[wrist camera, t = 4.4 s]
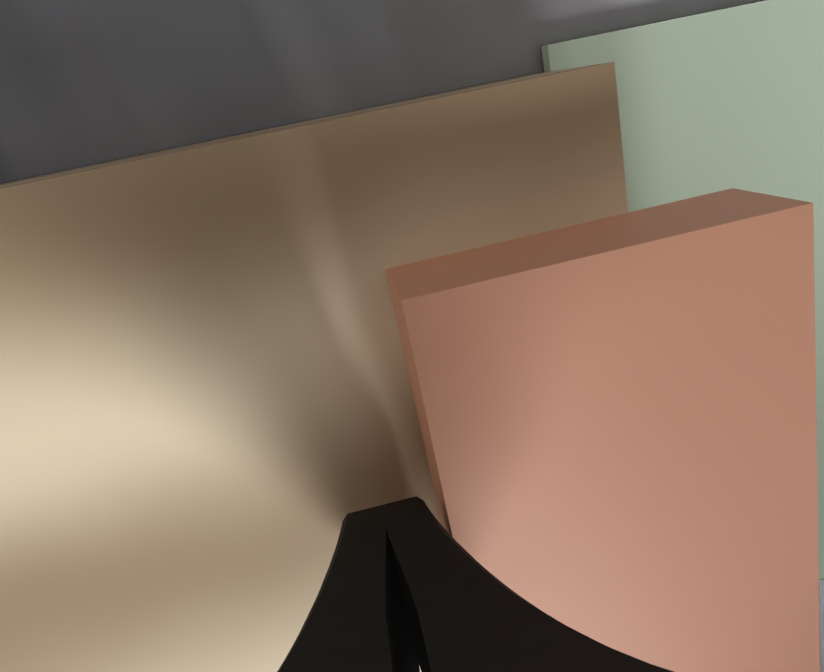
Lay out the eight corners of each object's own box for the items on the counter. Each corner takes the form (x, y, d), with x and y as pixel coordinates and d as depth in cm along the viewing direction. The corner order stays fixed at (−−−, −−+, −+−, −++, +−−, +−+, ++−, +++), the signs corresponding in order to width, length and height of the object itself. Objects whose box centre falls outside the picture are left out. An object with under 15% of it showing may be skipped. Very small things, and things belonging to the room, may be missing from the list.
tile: (754, 614, 15) (820, 688, 13) (478, 692, 14) (505, 780, 13) (732, 188, 12) (813, 203, 10) (385, 268, 11) (401, 300, 10)
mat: (932, 537, 20) (944, 546, 20) (612, 624, 20) (618, 634, 19) (965, -40, 15) (982, -44, 15) (540, 46, 15) (547, 44, 14)
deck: (604, 611, 19) (676, 733, 16) (7, 771, 18) (-71, 946, 14) (534, 73, 15) (614, 62, 11) (-268, 239, 14) (-487, 289, 10)
